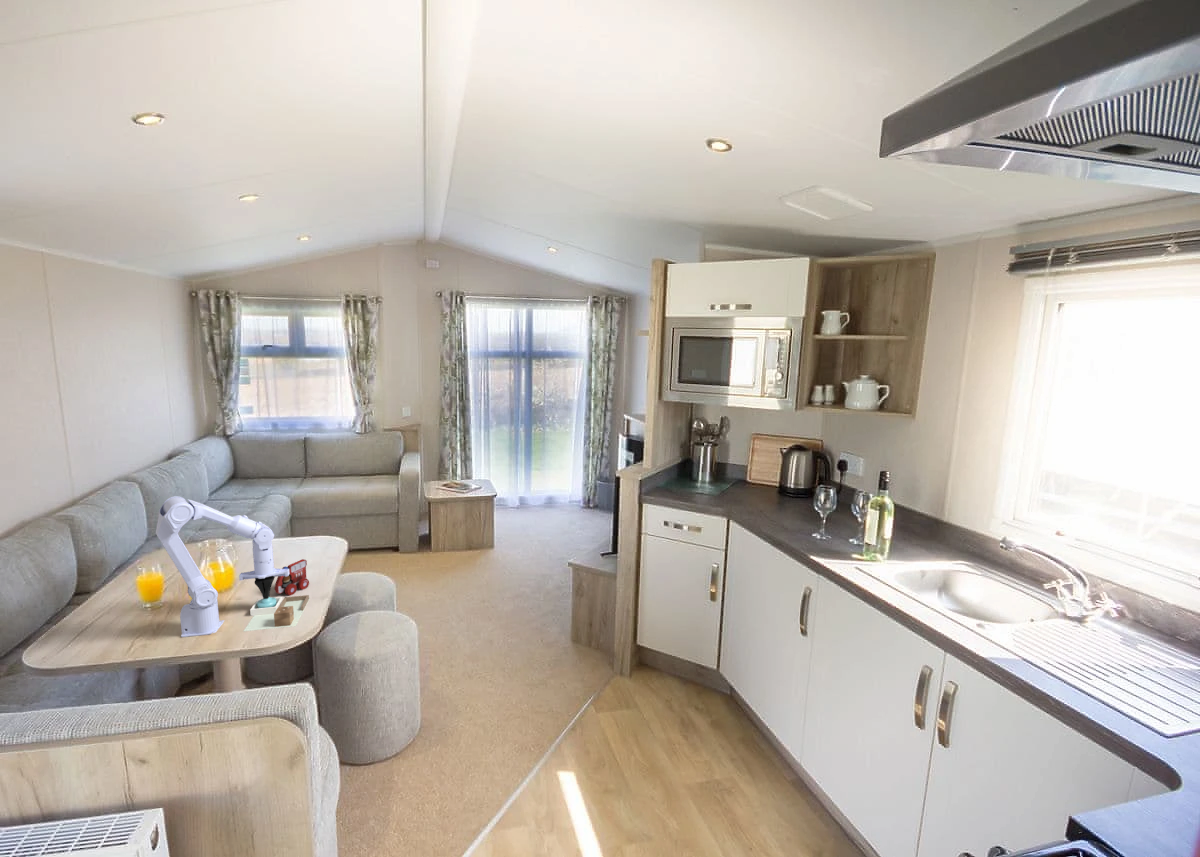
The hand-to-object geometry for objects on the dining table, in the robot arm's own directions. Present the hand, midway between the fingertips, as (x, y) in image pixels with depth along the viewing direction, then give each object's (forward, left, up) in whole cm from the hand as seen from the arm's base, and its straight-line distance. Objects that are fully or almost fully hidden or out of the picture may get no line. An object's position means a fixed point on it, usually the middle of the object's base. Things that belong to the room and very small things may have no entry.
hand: (266, 597), depth 188 cm
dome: (0, 0, -4) cm, 4 cm away
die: (+8, -11, -4) cm, 14 cm away
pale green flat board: (+4, -4, -5) cm, 8 cm away
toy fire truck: (+4, +15, -5) cm, 16 cm away
